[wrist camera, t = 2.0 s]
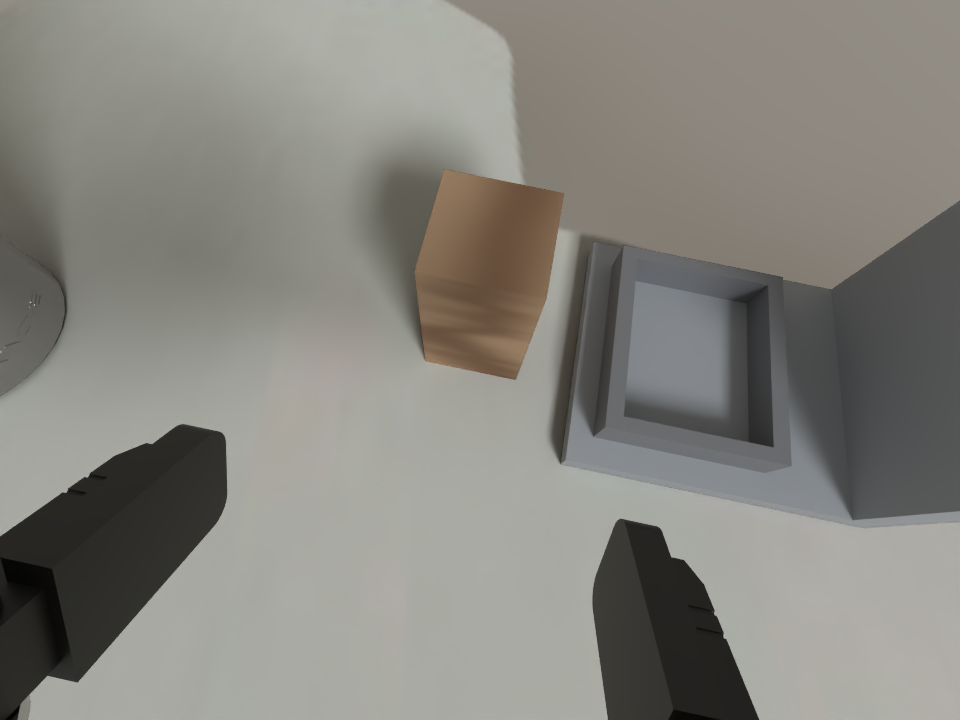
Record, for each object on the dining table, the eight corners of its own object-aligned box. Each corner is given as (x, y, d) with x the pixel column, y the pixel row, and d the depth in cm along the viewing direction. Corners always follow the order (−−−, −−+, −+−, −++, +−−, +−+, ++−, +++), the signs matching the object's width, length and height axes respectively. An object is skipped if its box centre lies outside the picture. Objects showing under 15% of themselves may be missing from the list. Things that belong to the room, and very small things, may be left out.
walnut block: (425, 361, 26) (414, 271, 18) (448, 271, 28) (448, 154, 20) (515, 379, 26) (546, 298, 18) (532, 288, 28) (566, 178, 20)
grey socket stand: (560, 464, 25) (1004, 103, 5) (588, 253, 29) (867, -348, 10) (864, 528, 24) (2625, 416, 5) (841, 304, 29) (1649, -211, 10)
